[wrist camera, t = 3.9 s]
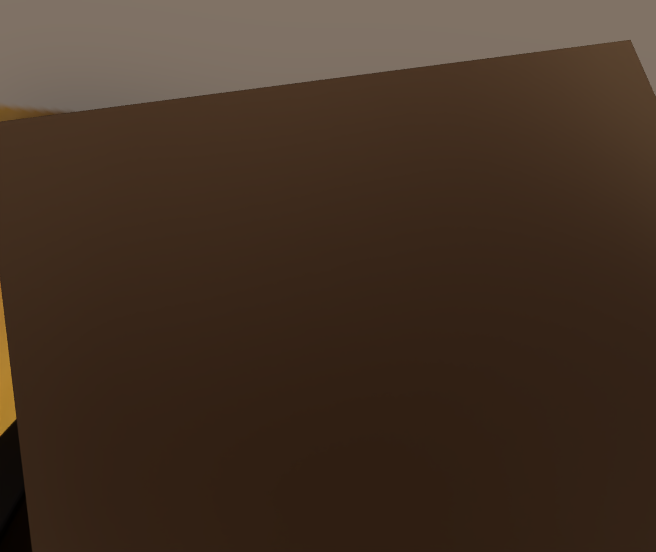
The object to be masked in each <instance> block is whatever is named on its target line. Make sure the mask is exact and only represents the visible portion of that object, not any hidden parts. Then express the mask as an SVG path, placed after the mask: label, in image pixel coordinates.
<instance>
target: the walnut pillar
mask: <svg viewBox="0 0 656 552" xmlns="http://www.w3.org/2000/svg"><path fill="white" fill-rule="evenodd" d="M0 282H1V290H2V299H3V307H4V316H5V324H6V333H7V341H8V350H9V358H10V367H11V375H12V384H13V392H14V400H15V409H16V417H17V426H18V434H19V443H20V451H21V460H22V468H23V477H24V485H25V494H26V502H27V511H28V519H29V528H30V536H31V545H32V552H656V96H655V94H654V92H653V90H652V87H651V86H650V83H649V81H648V78H647V76H646V74H645V72H644V70H643V67H642V65H641V63H640V60H639V58H638V56H637V54H636V52H635V49H634V47H633V45H632V42H631V40H626V41H618V42H611V43H603V44H595V45H587V46H580V47H572V48H564V49H557V50H549V51H541V52H534V53H526V54H519V55H511V56H503V57H495V58H487V59H480V60H472V61H464V62H457V63H449V64H441V65H434V66H426V67H418V68H410V69H403V70H395V71H387V72H379V73H372V74H364V75H357V76H349V77H341V78H333V79H326V80H318V81H311V82H302V83H295V84H287V85H279V86H272V87H264V88H257V89H249V90H241V91H234V92H226V93H218V94H210V95H203V96H195V97H187V98H180V99H172V100H165V101H156V102H149V103H141V104H133V105H125V106H118V107H110V108H102V109H95V110H88V111H79V112H71V113H64V114H56V115H48V116H41V117H33V118H25V119H18V120H10V121H2V122H0Z"/></svg>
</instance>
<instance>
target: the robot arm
mask: <svg viewBox="0 0 656 552" xmlns="http://www.w3.org/2000/svg"><path fill="white" fill-rule="evenodd" d="M0 552H32V545H31V536H30V528H29V519H28V511H27V502H26V494H25V485H24V477H23V468H22V460H21V451H20V443H19V434H18V426H17V419H16V420H15V421H14V422H13V423H12V424H11V425H10V426H9V427H8V428H7V429H6V431H5V432H4V433H3V434H2V435H1V436H0Z"/></svg>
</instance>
